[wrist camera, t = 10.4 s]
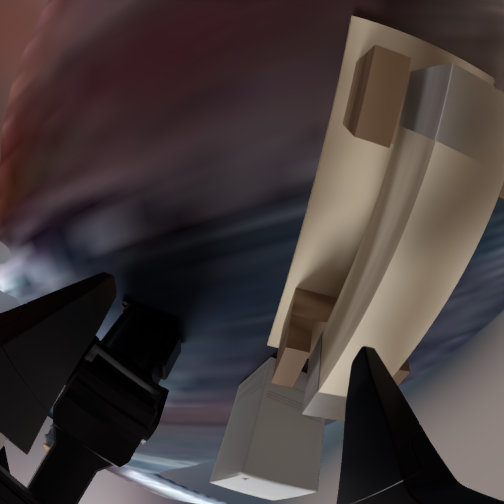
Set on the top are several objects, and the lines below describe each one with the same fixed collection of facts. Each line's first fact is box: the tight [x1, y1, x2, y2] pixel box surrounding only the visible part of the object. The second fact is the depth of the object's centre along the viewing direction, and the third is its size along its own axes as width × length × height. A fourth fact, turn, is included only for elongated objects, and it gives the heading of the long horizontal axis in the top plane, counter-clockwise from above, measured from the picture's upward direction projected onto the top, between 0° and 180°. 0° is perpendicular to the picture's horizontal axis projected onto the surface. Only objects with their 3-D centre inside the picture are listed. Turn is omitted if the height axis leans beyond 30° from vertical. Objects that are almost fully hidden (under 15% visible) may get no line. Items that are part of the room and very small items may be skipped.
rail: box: [302, 63, 504, 421], centre depth 14 cm, size 4×20×5 cm, turn 170°
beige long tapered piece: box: [267, 16, 504, 388], centre depth 16 cm, size 10×26×7 cm, turn 170°
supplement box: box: [210, 357, 325, 500], centre depth 24 cm, size 7×7×13 cm
